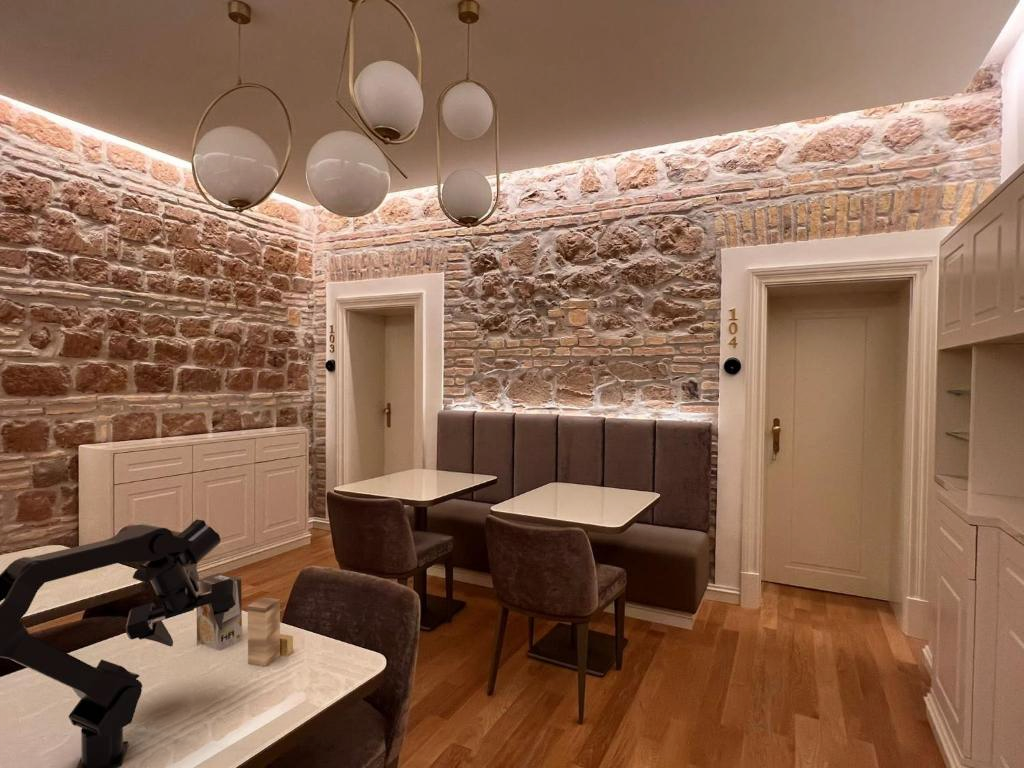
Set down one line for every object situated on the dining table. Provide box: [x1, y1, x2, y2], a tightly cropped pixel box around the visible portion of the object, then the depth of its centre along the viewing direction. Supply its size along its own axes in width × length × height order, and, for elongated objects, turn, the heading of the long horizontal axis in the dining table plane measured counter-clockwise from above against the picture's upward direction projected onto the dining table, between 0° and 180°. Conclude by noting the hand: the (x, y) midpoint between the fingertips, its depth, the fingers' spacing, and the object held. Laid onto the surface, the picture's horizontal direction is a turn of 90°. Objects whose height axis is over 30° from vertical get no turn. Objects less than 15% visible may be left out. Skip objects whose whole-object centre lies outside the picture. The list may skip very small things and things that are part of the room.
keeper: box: [246, 596, 281, 667], centre depth 128 cm, size 5×5×13 cm
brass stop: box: [280, 633, 294, 657], centre depth 132 cm, size 2×8×4 cm, turn 75°
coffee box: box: [195, 572, 243, 651], centre depth 137 cm, size 9×6×16 cm
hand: (197, 636), depth 115 cm, fingers open, 9 cm apart
